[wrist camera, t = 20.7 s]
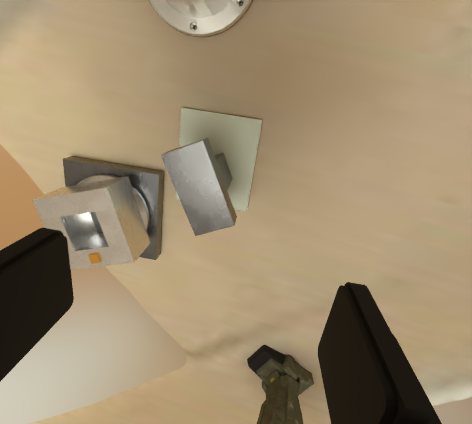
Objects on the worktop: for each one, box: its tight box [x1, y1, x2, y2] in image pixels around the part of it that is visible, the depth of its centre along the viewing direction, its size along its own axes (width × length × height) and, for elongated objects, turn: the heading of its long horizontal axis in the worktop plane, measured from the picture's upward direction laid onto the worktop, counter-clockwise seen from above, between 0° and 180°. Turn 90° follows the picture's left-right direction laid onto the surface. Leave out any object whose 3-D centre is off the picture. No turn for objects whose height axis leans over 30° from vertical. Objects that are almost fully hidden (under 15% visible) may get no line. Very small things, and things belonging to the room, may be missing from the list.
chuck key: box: [161, 138, 237, 236], centre depth 32 cm, size 9×4×9 cm, turn 19°
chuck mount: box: [63, 156, 164, 260], centre depth 40 cm, size 13×13×2 cm
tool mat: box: [176, 108, 262, 211], centre depth 36 cm, size 12×10×1 cm
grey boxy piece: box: [32, 174, 150, 270], centre depth 36 cm, size 11×11×6 cm
